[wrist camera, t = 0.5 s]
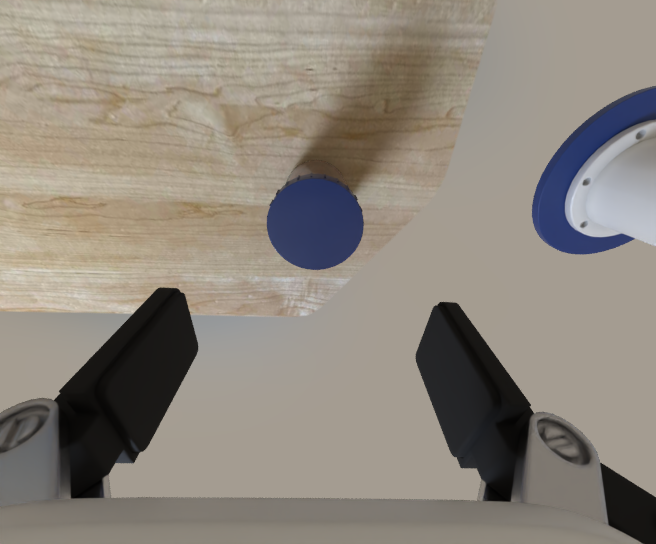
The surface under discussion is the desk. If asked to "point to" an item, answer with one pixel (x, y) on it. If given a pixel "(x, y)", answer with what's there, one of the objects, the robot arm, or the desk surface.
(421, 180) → the desk surface
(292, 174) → the jar
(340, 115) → the desk surface
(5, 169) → the desk surface
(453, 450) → the robot arm
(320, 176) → the lid
